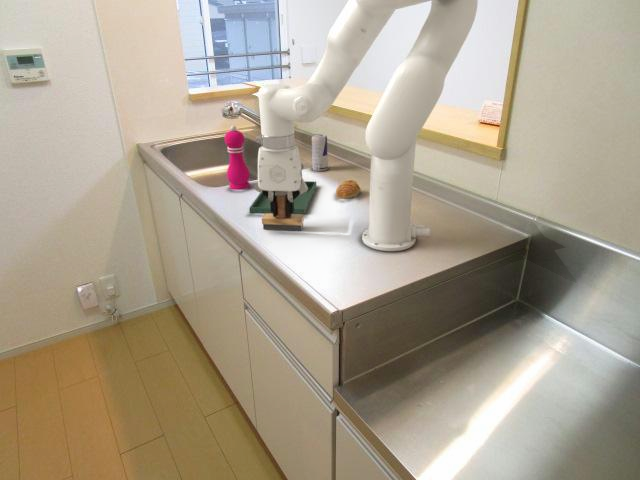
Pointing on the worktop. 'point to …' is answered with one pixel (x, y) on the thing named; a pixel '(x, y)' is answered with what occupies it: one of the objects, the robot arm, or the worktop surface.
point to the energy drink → (319, 152)
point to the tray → (299, 202)
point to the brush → (282, 217)
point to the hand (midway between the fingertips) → (282, 214)
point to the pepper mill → (236, 160)
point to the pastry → (348, 189)
